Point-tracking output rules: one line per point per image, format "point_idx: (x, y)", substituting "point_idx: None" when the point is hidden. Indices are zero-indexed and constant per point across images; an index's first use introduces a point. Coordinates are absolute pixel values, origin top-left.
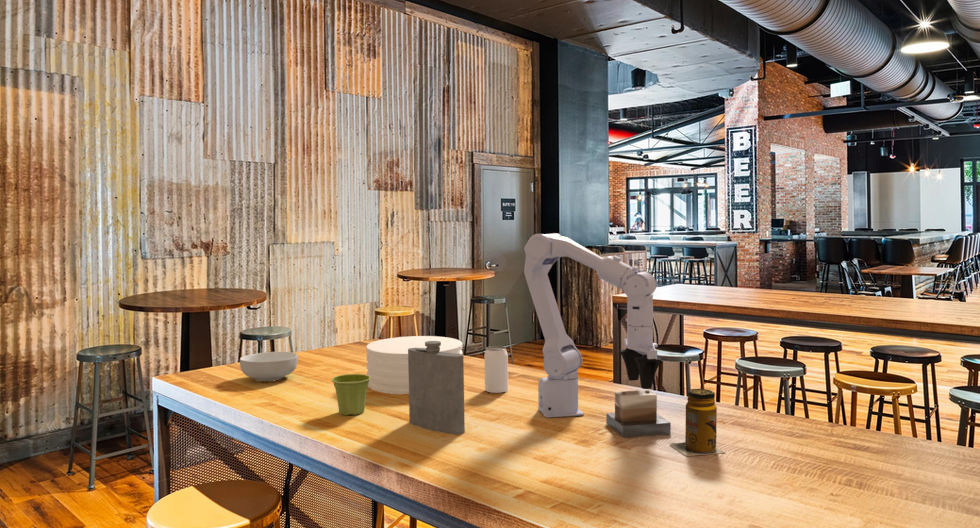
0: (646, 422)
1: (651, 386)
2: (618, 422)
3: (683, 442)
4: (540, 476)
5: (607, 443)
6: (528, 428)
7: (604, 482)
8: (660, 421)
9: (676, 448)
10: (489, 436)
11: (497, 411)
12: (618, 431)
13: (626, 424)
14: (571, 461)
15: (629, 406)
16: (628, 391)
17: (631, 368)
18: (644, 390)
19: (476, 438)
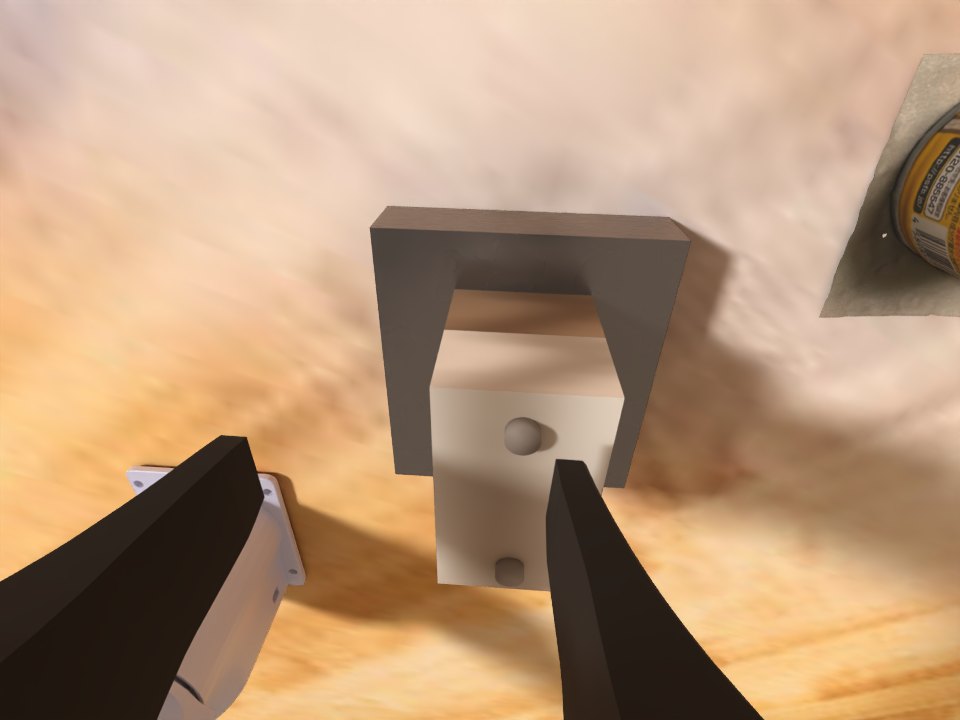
0: (617, 372)
1: (589, 474)
2: None
3: (858, 232)
4: (795, 694)
5: (650, 513)
6: (411, 632)
7: (949, 621)
8: (635, 290)
9: (892, 309)
10: (461, 699)
11: None
12: None
13: None
14: (746, 630)
15: None
16: (451, 524)
17: (189, 594)
18: (450, 423)
19: (469, 715)
